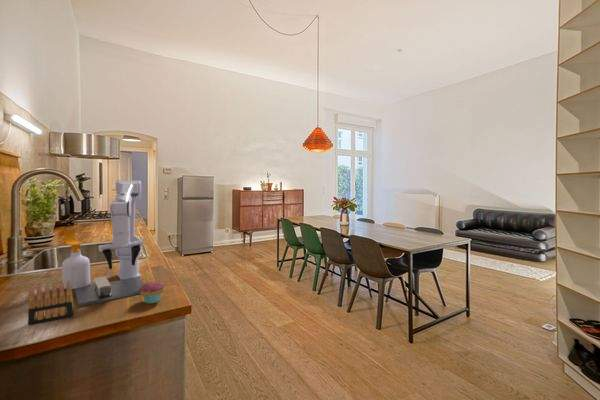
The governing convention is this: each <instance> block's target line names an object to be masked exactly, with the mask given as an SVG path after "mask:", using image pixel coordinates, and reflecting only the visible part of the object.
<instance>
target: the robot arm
mask: <svg viewBox="0 0 600 400" xmlns="http://www.w3.org/2000/svg"><path fill="white" fill-rule="evenodd" d="M115 192H116V196H115V198H114V201H113V202H111V203H110V204H109V213H110V220H111V222H112V223H111V225H112V226H111V227H112V243H106V244H102V245H98V252H102V253H103V256H104V257H105V259H106V262H107V264H108V269H109V270H112V269H113V263H112V258H113V257H112V256H113V255H112V254H113V252H112V250H115V256H116V257H117V258H118V259H119V273H117V276H118V278H119V280H123V279H129V278H134V277H139V278H140V277H142V275H141V273H140V272H139V256H141V255H142V253H143V251H142V247H144V242H143V240H142V239H141V238H140V237H138V235H135V233H136V228H135V227H136V204H137V201H140V200H141V198H142V181H141V180H123V179H122V180H120V179H118V180H116V181H115Z"/></svg>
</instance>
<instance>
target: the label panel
mask: <svg viewBox="0 0 600 400" xmlns="http://www.w3.org/2000/svg"><path fill="white" fill-rule="evenodd" d="M109 283H110V285H111V287H112V294H111V296H108V297H103V298H102V297H100V296H99V295H98V293H97V290H96V288H95V286H94V284H91V285H87V286H85V287H80V288H75V289H74V294H75V297H76V302H77V306H78V308H81V307H85V306H90V305H94V304H95V305H96V304H99V303H103V302H109V301H112V300H119V299H122V298H126V297H131V296H135V295H141V294H140V292H139V288H140V287H141V286H142V285H144V284H145V283H144V282H143V281H142V280H141V278H140V277H134V278H129V279H123V280H121V279H119V280H114V281H113V280H112V281H109Z"/></svg>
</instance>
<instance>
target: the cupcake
mask: <svg viewBox="0 0 600 400" xmlns="http://www.w3.org/2000/svg"><path fill="white" fill-rule="evenodd" d="M145 274H146V280H147V282H145V283H144V285H142V286H141V287H140V288H139V292H140V294H139V295H141V296H142V298H143V300H144V303H146V304H154V303H158V302H159V301H160V299H161V297H162V294H163V293H164V292H165V291H166V286H165V283H164V282H162V281H158V280H151V281H150V274H149V271H148V269H145Z"/></svg>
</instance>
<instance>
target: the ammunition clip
mask: <svg viewBox="0 0 600 400" xmlns="http://www.w3.org/2000/svg"><path fill="white" fill-rule="evenodd" d="M28 289H29V290H28V300H27V304H28V311H27V313H28V315H27V316H28V317H27V326H28V327H30V326H34V325H40V324H45V323H50V322H55V321H60V320H61V321H62V320H66V319H70V318H73V317H74V315H75V314H74V304H73V302H74V301H73V299H74V298H73V291H72V290H73V289H71V283H70V281H69V280H68V282H67V287H66V289H64V284H63V281H60V283H59V288H58V286H57V284H56V282H55V281H54V282H53V283H52V288H50V285H49V283H48V282H47V283H45V286H44V295H43V289H42V285H41V284H37V288H36V297H35V289H34V286H33V285H32V284H31V285H30V286H29V288H28ZM50 289H51V291H50ZM58 290H59V291H58ZM65 290H66V291H65ZM58 292H59V293H58Z"/></svg>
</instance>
